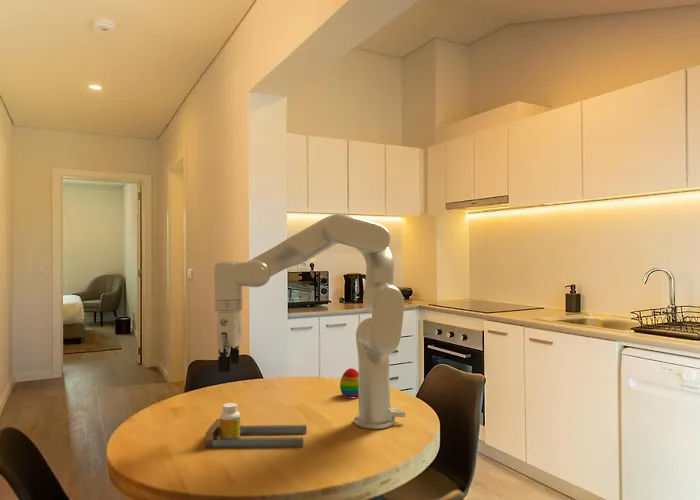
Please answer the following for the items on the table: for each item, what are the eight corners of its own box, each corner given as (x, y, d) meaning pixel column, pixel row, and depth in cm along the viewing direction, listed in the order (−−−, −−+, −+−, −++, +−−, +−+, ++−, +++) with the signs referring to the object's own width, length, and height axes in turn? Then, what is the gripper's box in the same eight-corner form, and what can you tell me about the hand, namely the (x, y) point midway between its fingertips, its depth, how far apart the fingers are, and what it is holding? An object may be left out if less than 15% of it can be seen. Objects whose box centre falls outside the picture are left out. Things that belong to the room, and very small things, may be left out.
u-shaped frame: (306, 431, 141) (306, 418, 141) (302, 446, 130) (302, 431, 130) (216, 432, 141) (216, 418, 141) (205, 447, 130) (205, 432, 130)
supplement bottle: (235, 444, 132) (234, 408, 132) (216, 442, 133) (216, 407, 133) (243, 436, 138) (243, 402, 138) (225, 435, 139) (225, 401, 139)
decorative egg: (335, 395, 177) (335, 368, 177) (353, 391, 182) (353, 364, 182) (349, 400, 171) (348, 372, 171) (367, 396, 175) (367, 368, 176)
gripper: (234, 309, 127) (235, 374, 127) (248, 302, 144) (249, 360, 144) (205, 309, 127) (206, 375, 127) (223, 302, 145) (223, 360, 144)
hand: (229, 367), depth 136 cm, fingers open, 9 cm apart
